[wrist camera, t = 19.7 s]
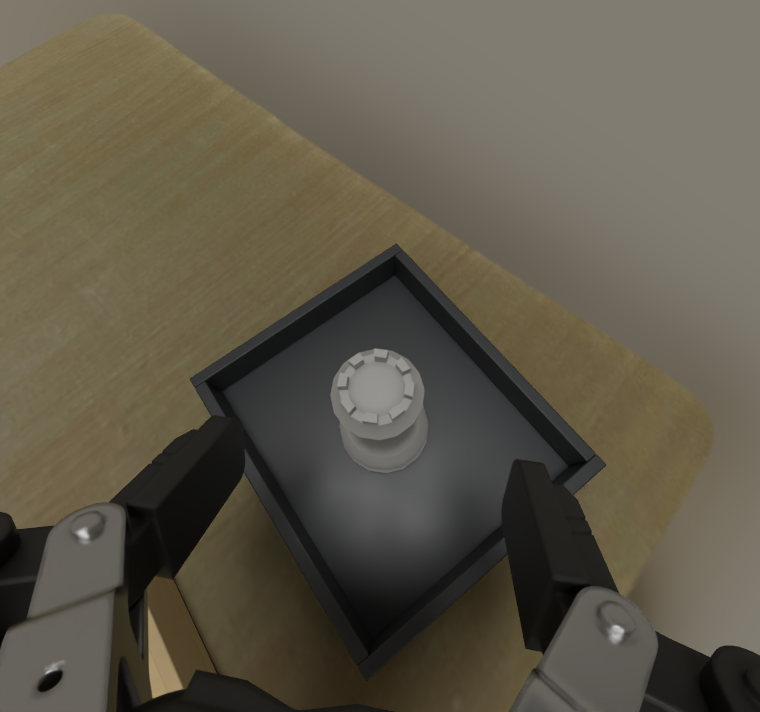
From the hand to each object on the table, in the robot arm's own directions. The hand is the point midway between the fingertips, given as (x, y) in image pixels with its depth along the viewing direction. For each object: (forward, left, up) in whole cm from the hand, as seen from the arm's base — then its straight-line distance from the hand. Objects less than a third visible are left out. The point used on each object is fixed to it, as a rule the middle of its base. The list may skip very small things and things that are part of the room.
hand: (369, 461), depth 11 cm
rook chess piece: (+2, -2, -8) cm, 9 cm away
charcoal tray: (+2, -2, -9) cm, 9 cm away
